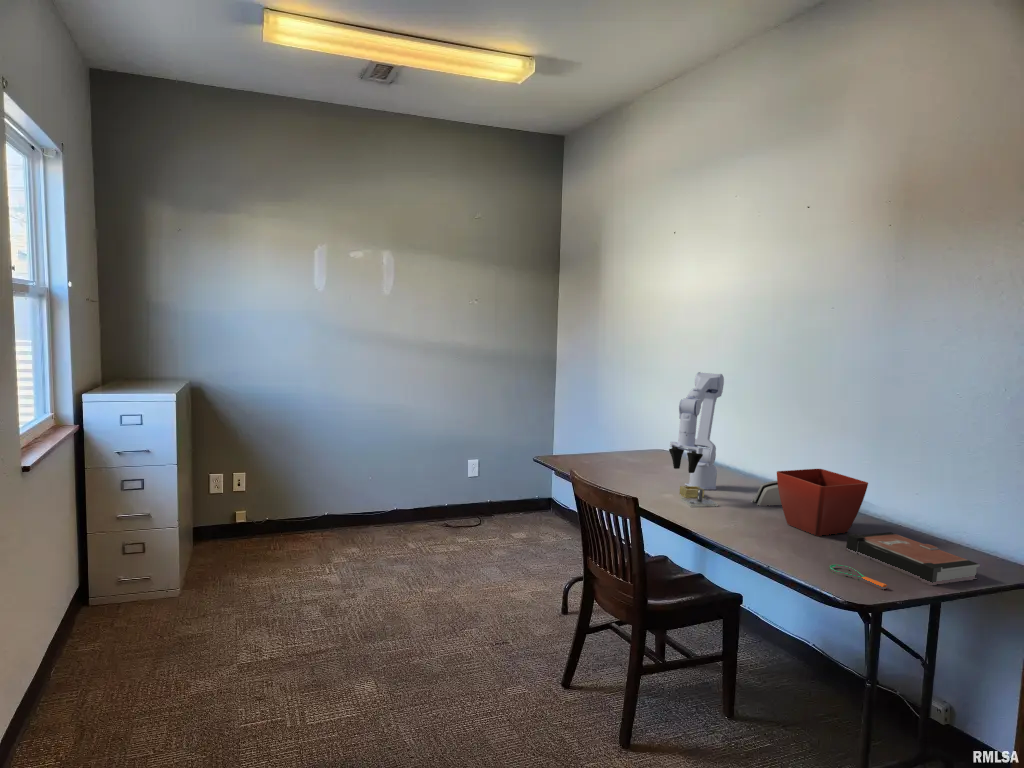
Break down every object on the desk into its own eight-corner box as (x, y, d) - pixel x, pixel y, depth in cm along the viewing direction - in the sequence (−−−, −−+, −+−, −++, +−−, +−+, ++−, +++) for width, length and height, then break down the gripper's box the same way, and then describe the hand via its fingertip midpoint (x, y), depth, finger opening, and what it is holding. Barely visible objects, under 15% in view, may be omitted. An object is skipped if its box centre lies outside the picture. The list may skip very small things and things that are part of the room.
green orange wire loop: (823, 570, 175) (824, 564, 175) (839, 567, 178) (840, 561, 177) (876, 593, 161) (877, 586, 161) (893, 590, 164) (893, 583, 164)
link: (697, 494, 246) (697, 486, 246) (703, 497, 241) (704, 489, 241) (679, 494, 245) (680, 486, 245) (685, 497, 240) (686, 489, 240)
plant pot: (817, 541, 197) (822, 485, 196) (770, 522, 215) (775, 470, 213) (864, 536, 205) (870, 482, 203) (815, 518, 222) (820, 468, 221)
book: (979, 580, 173) (981, 562, 172) (931, 587, 167) (933, 568, 166) (890, 546, 197) (892, 530, 197) (845, 551, 191) (847, 534, 191)
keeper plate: (707, 500, 237) (708, 487, 237) (717, 506, 231) (718, 492, 230) (681, 501, 235) (682, 487, 235) (690, 506, 229) (691, 492, 228)
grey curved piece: (792, 501, 242) (800, 478, 238) (799, 509, 238) (808, 485, 234) (750, 501, 239) (758, 478, 235) (757, 509, 235) (764, 486, 231)
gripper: (664, 429, 241) (661, 466, 241) (693, 435, 228) (689, 474, 229) (679, 429, 244) (676, 466, 245) (708, 435, 231) (705, 474, 232)
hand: (683, 470), depth 237 cm, fingers open, 7 cm apart
